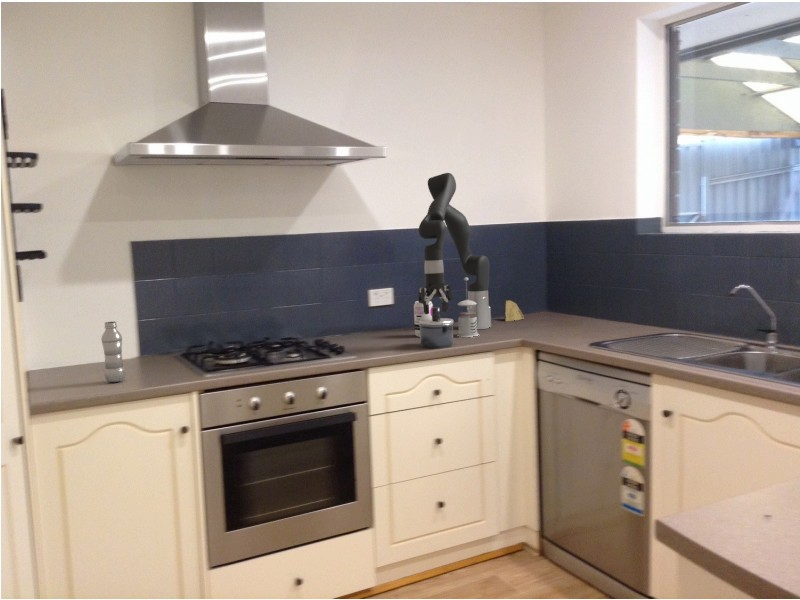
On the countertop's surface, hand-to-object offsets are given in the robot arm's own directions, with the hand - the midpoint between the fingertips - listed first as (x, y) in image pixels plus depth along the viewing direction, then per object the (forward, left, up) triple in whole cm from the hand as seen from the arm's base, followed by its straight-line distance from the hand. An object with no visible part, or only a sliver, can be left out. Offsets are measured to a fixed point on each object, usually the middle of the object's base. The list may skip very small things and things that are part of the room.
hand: (435, 312), depth 266 cm
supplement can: (-10, -24, -13) cm, 29 cm away
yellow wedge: (-68, -32, -13) cm, 76 cm away
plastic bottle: (+116, -20, -13) cm, 118 cm away
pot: (0, 0, -13) cm, 13 cm away
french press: (-24, -11, -13) cm, 30 cm away
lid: (0, 0, -4) cm, 4 cm away
